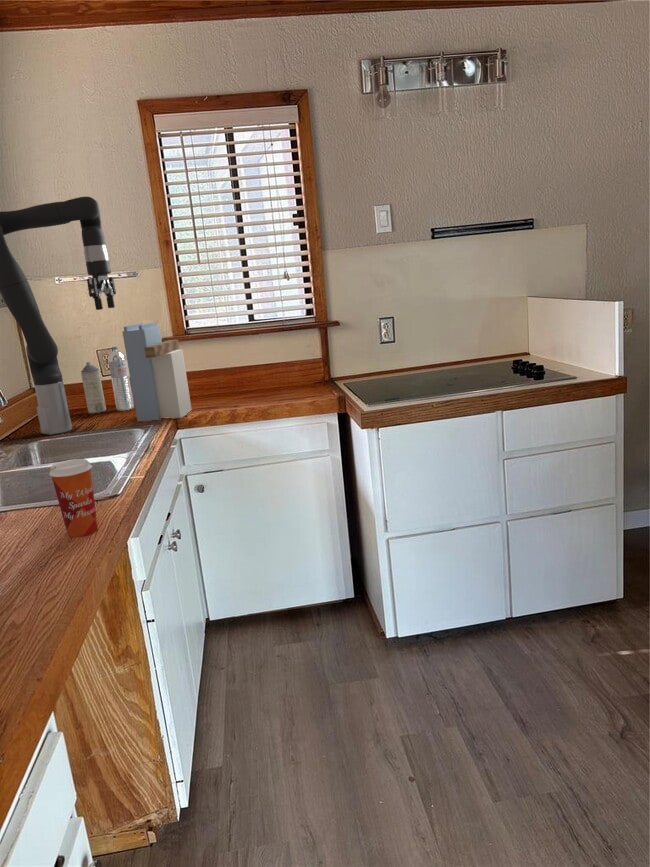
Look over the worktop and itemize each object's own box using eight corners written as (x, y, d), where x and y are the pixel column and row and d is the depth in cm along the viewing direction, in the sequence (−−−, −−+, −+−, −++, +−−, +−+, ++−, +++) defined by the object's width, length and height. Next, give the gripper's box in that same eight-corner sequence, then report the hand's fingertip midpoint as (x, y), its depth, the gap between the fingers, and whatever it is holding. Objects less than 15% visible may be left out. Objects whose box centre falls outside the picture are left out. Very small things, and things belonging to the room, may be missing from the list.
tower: (158, 420, 225) (143, 325, 217) (137, 421, 227) (121, 327, 219) (172, 412, 238) (158, 321, 230) (152, 413, 239) (137, 323, 231)
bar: (155, 357, 213) (154, 346, 212) (146, 357, 214) (144, 347, 213) (179, 349, 233) (177, 339, 232) (170, 349, 234) (168, 340, 233)
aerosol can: (110, 410, 255) (101, 360, 250) (97, 414, 249) (88, 363, 244) (97, 410, 258) (88, 361, 253) (84, 413, 252) (75, 363, 247)
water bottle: (133, 406, 257) (123, 345, 251) (135, 409, 251) (124, 346, 245) (116, 409, 255) (105, 347, 249) (117, 412, 249) (106, 348, 243)
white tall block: (180, 417, 226) (170, 353, 220) (160, 419, 227) (150, 355, 222) (191, 411, 237) (182, 349, 231) (172, 412, 238) (163, 350, 232)
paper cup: (68, 543, 120) (53, 472, 117) (57, 532, 126) (43, 465, 123) (109, 530, 124) (96, 462, 121) (97, 520, 130) (84, 455, 127)
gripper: (97, 261, 222) (105, 308, 226) (75, 261, 208) (84, 311, 212) (117, 259, 221) (125, 306, 225) (96, 258, 207) (105, 309, 211)
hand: (105, 308), depth 218 cm, fingers open, 8 cm apart
